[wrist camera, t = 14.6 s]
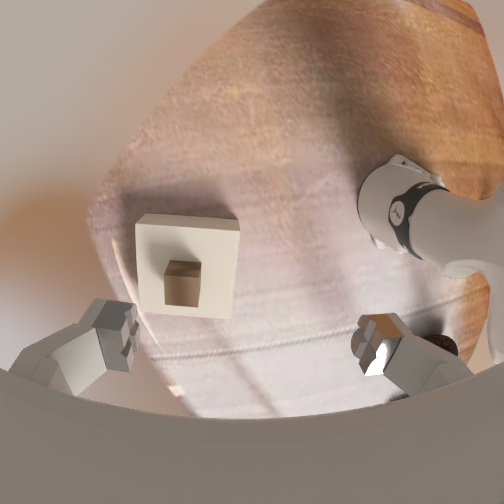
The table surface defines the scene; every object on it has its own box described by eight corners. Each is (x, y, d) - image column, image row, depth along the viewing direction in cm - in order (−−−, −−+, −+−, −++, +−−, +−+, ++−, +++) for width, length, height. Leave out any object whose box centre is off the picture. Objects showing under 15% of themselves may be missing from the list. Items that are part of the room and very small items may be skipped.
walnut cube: (201, 262, 42) (199, 278, 37) (200, 290, 44) (198, 307, 39) (169, 259, 41) (163, 274, 37) (170, 287, 43) (164, 304, 39)
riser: (238, 219, 46) (240, 231, 41) (229, 300, 52) (230, 319, 47) (145, 213, 44) (135, 223, 39) (148, 293, 50) (140, 311, 45)
